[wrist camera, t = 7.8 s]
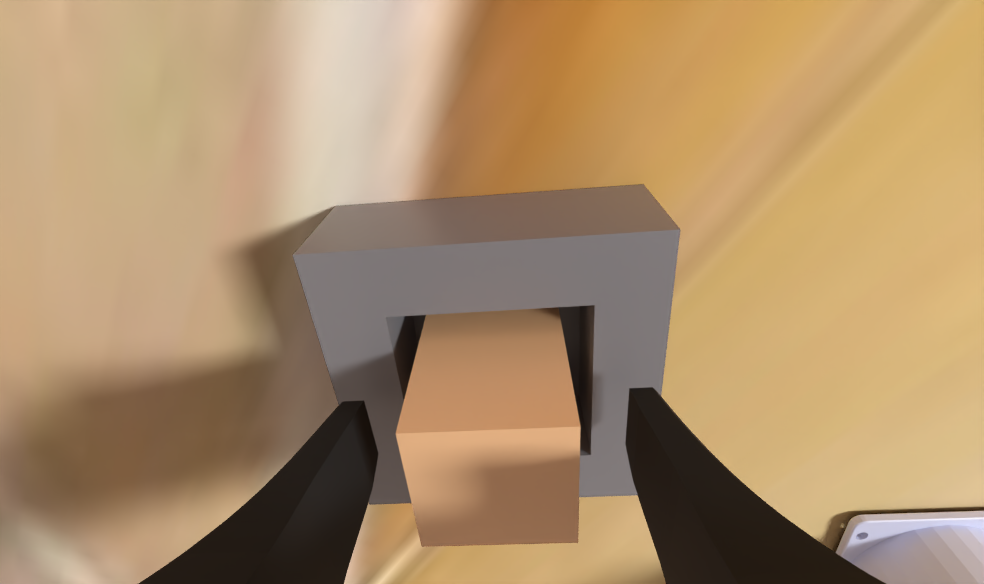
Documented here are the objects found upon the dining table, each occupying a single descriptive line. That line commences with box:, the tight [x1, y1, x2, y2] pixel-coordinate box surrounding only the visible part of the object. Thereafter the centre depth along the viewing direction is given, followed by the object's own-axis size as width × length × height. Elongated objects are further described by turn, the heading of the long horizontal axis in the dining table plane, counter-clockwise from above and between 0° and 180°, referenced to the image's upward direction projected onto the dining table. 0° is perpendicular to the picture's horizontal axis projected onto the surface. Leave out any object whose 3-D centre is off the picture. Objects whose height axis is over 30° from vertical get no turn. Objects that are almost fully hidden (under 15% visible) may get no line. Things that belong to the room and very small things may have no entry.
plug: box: [396, 307, 581, 547], centre depth 14 cm, size 4×4×6 cm
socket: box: [293, 184, 680, 505], centre depth 16 cm, size 10×10×4 cm
